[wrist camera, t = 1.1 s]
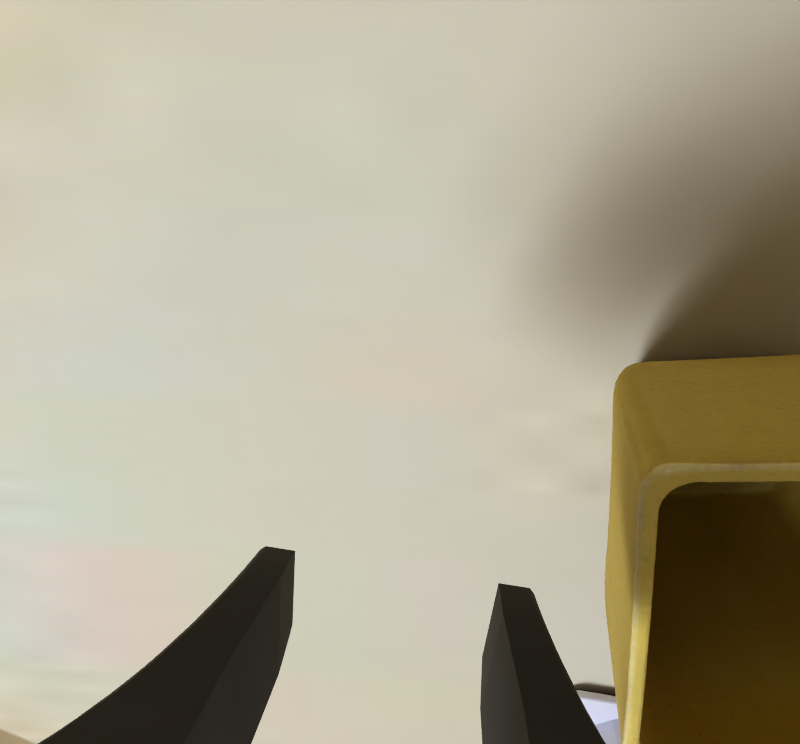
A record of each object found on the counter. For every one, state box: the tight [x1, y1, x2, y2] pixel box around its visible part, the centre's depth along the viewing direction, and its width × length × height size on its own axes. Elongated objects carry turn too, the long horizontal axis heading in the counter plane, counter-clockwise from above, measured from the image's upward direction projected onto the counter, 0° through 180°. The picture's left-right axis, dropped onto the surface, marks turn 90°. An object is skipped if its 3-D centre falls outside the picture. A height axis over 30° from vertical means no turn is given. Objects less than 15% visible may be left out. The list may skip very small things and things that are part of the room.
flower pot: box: [605, 354, 800, 744], centre depth 17 cm, size 9×9×9 cm
